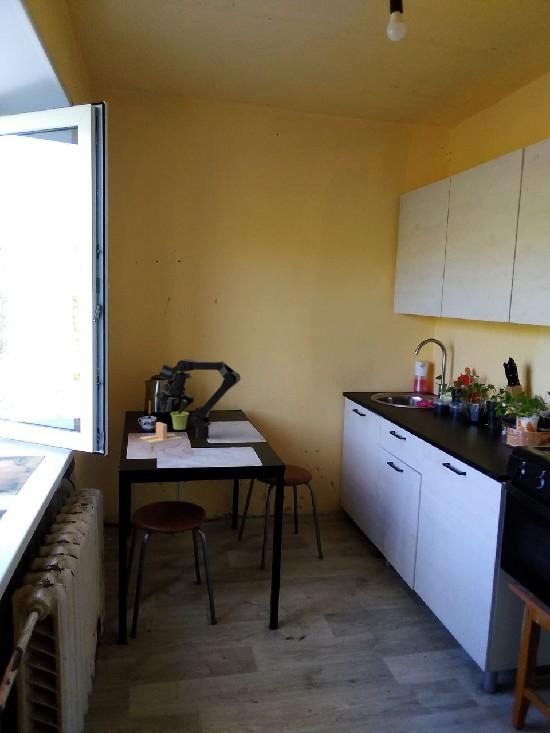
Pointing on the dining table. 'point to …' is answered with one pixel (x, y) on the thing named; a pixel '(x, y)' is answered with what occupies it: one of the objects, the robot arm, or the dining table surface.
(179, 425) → the plant pot
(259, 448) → the dining table surface
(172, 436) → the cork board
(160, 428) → the tile
